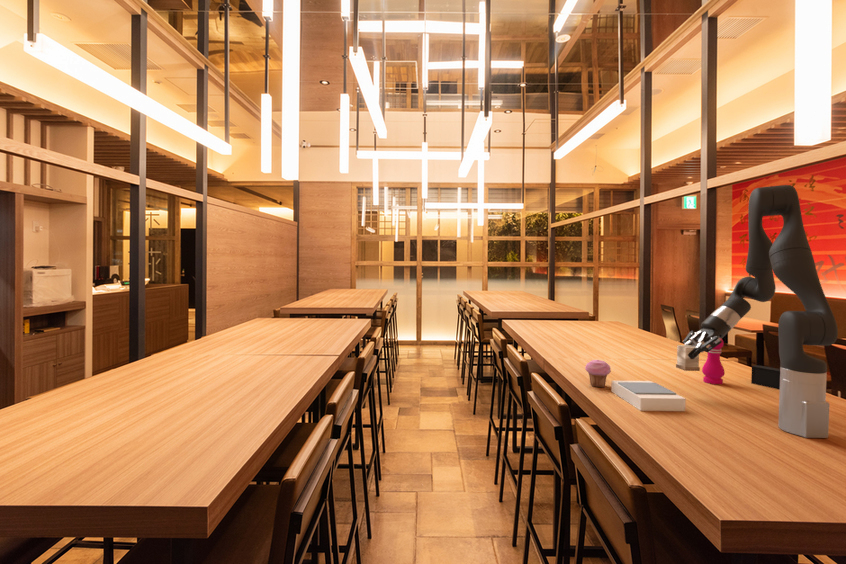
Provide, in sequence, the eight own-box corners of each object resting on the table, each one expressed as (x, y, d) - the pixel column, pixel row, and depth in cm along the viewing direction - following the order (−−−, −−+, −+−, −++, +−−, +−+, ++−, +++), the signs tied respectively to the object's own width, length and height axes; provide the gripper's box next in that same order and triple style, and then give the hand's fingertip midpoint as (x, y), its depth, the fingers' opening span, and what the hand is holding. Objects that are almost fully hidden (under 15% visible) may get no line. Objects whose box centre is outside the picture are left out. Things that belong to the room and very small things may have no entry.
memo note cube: (699, 370, 137) (700, 347, 136) (684, 370, 137) (685, 347, 137) (690, 367, 142) (690, 345, 142) (675, 367, 142) (676, 345, 142)
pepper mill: (723, 381, 158) (724, 331, 158) (725, 386, 152) (726, 334, 152) (701, 379, 162) (702, 330, 162) (702, 383, 156) (703, 332, 156)
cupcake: (585, 387, 149) (586, 361, 149) (584, 381, 158) (584, 356, 157) (611, 390, 146) (612, 363, 146) (609, 383, 155) (609, 358, 154)
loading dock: (685, 411, 125) (685, 397, 125) (640, 410, 125) (640, 396, 125) (649, 391, 145) (650, 379, 145) (611, 391, 145) (611, 379, 145)
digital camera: (791, 388, 150) (791, 370, 150) (784, 390, 147) (785, 372, 147) (758, 381, 159) (758, 364, 159) (751, 383, 156) (751, 365, 156)
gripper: (699, 312, 146) (665, 344, 146) (728, 316, 132) (691, 352, 132) (713, 326, 146) (679, 359, 146) (744, 332, 132) (706, 368, 132)
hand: (685, 355), depth 139 cm, fingers closed on memo note cube, 4 cm apart
